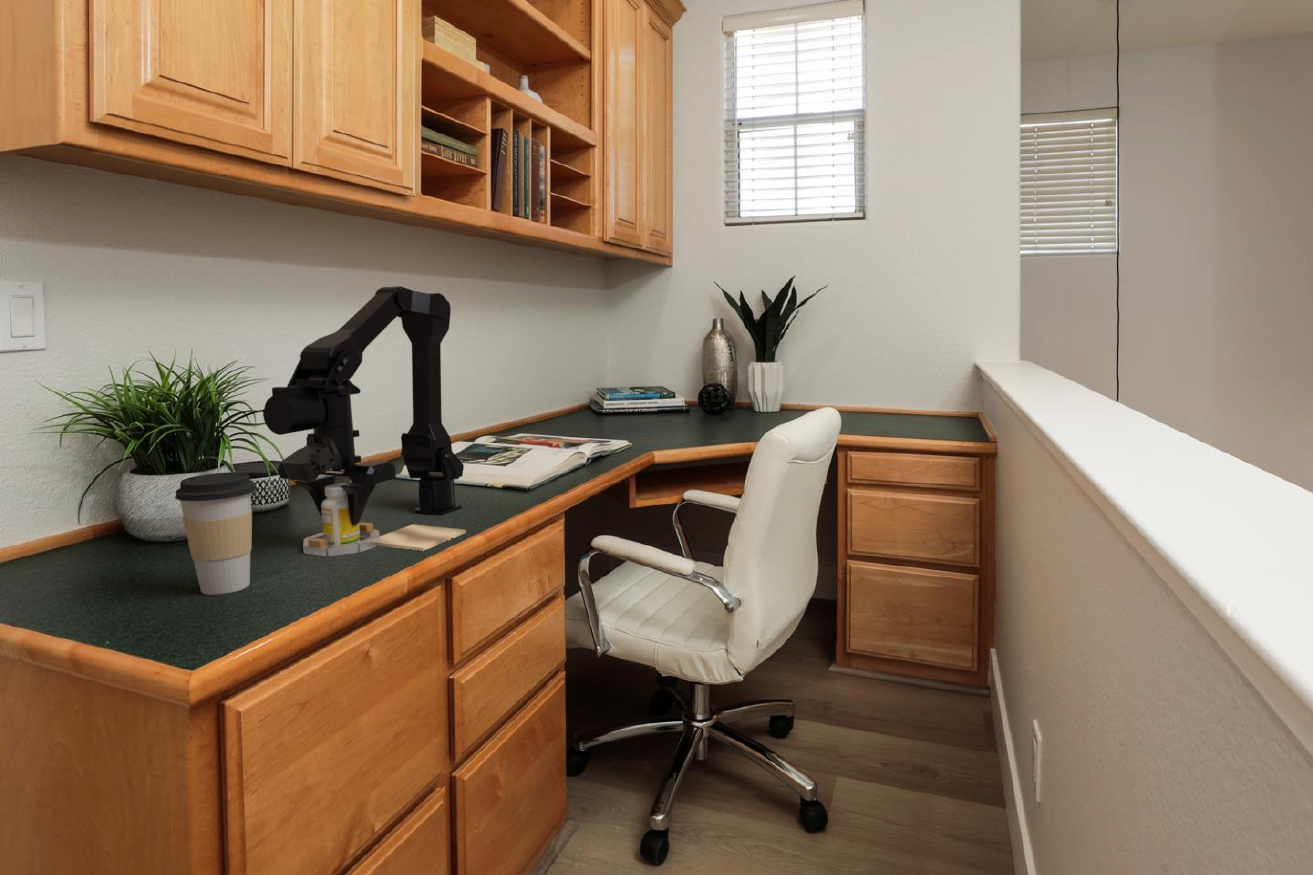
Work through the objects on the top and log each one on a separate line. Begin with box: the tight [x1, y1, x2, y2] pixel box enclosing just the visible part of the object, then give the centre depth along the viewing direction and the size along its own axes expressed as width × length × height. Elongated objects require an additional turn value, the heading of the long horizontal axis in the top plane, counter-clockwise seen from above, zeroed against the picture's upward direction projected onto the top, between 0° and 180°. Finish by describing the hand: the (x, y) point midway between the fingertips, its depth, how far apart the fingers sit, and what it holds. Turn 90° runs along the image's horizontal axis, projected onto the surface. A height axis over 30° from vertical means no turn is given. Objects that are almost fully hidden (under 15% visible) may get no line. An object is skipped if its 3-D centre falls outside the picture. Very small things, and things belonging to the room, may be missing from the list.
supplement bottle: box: [321, 482, 361, 546], centre depth 125 cm, size 5×5×10 cm
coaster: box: [376, 523, 467, 552], centre depth 128 cm, size 11×11×1 cm
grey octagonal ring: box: [302, 521, 381, 557], centre depth 125 cm, size 11×11×2 cm
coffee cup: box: [174, 471, 257, 596], centre depth 105 cm, size 9×9×15 cm
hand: (340, 523), depth 125 cm, fingers closed on supplement bottle, 5 cm apart
